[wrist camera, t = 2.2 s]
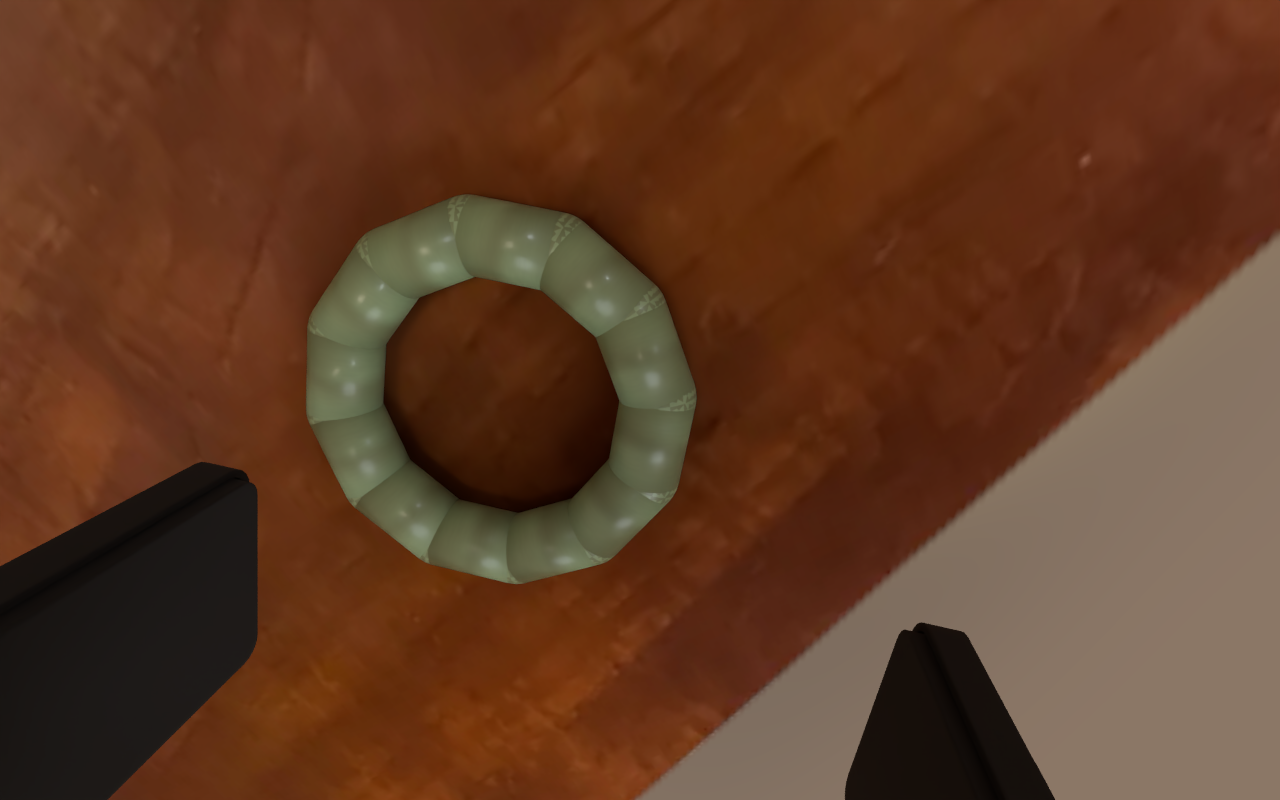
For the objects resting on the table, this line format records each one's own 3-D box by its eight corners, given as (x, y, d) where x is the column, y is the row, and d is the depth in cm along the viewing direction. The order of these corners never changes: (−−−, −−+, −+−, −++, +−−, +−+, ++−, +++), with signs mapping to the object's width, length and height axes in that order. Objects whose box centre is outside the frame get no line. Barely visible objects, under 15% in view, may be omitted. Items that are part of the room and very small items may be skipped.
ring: (731, 241, 16) (729, 249, 14) (655, 590, 19) (647, 631, 17) (338, 164, 16) (292, 163, 15) (328, 513, 20) (289, 545, 18)
